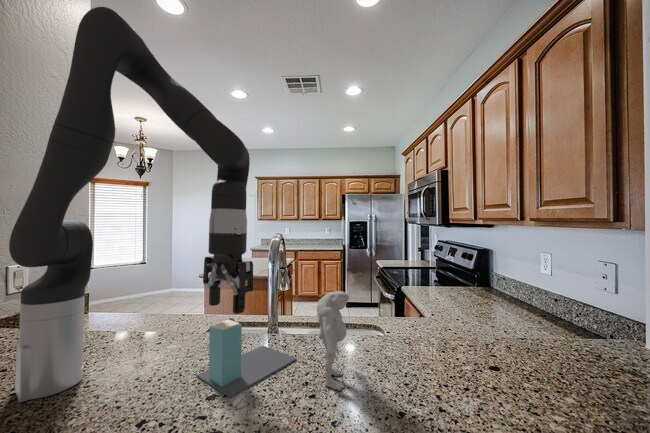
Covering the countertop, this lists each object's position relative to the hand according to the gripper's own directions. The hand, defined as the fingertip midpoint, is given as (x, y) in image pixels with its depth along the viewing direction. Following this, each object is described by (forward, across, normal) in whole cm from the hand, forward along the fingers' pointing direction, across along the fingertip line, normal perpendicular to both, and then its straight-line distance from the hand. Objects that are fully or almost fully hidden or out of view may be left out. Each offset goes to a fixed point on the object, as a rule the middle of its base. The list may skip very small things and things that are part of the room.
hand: (226, 308), depth 58 cm
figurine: (+14, +18, +13) cm, 27 cm away
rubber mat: (+14, 0, +6) cm, 16 cm away
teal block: (+14, 0, 0) cm, 14 cm away
